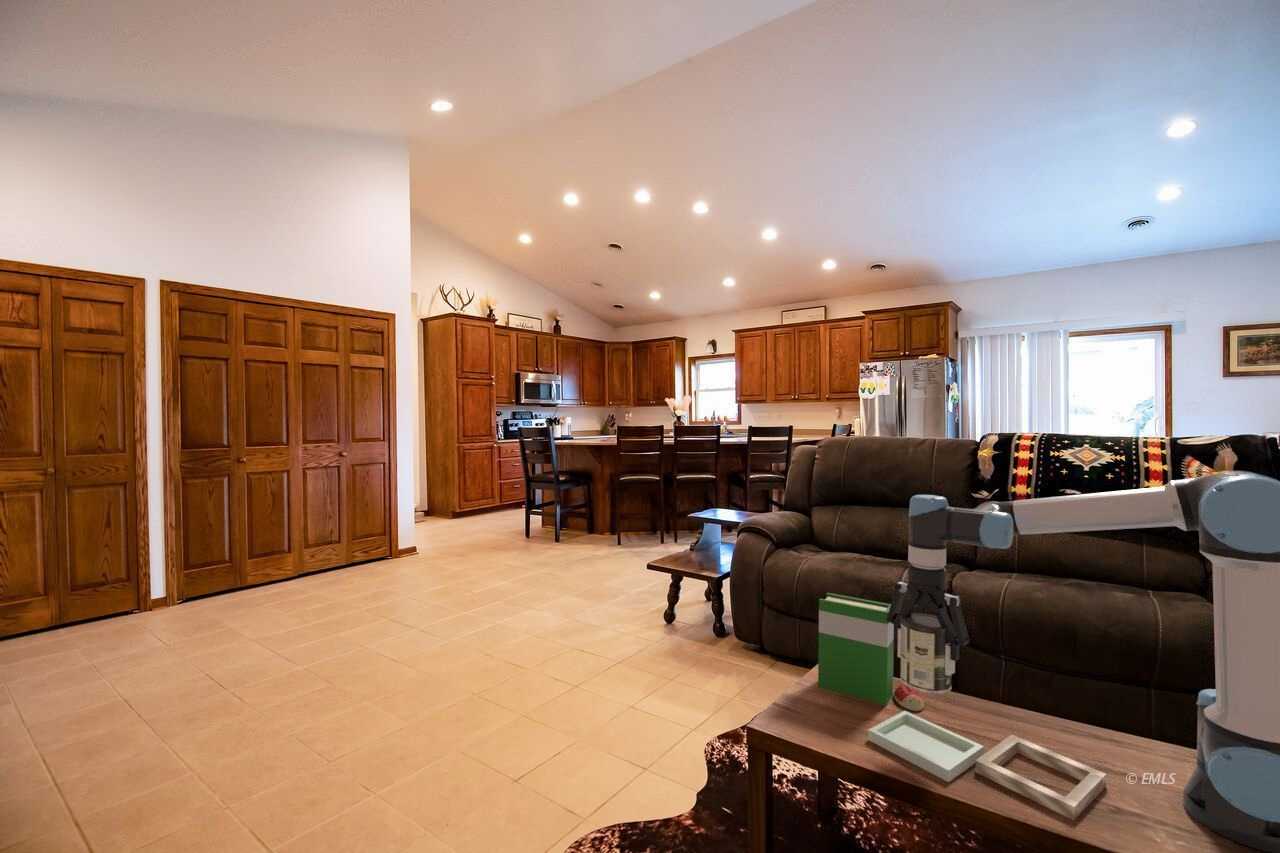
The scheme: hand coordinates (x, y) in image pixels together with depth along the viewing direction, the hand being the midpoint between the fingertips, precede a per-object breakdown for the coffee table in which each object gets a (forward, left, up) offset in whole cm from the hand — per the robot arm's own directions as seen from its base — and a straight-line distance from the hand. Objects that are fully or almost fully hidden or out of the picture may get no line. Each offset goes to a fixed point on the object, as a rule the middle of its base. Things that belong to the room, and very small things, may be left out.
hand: (925, 664), depth 125 cm
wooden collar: (-19, -9, -19) cm, 28 cm away
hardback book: (+25, -11, -19) cm, 33 cm away
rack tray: (0, 0, -19) cm, 19 cm away
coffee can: (0, 0, -4) cm, 4 cm away
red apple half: (+13, -17, -19) cm, 29 cm away
